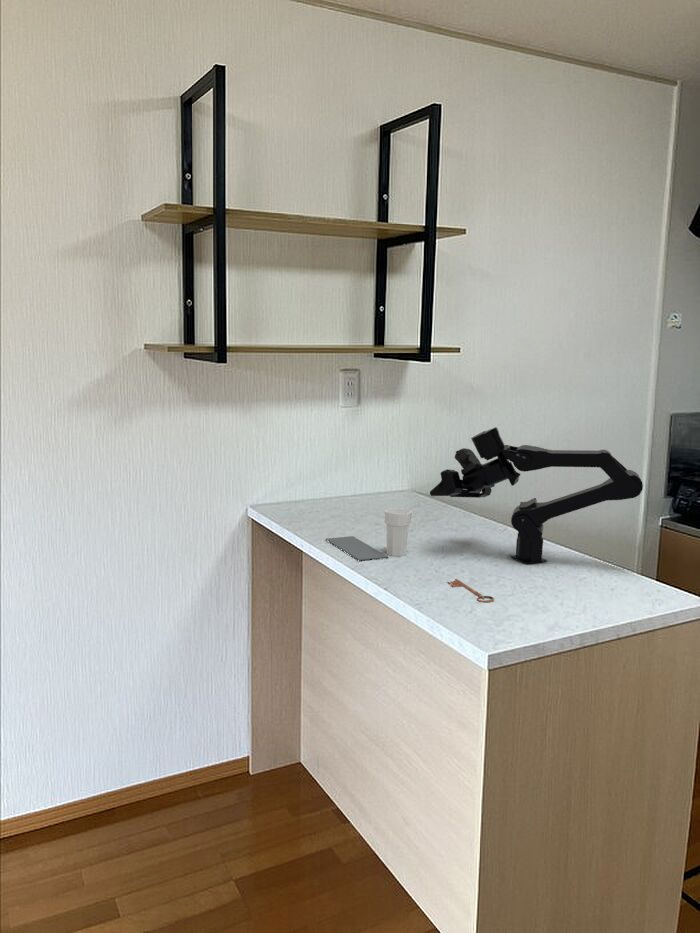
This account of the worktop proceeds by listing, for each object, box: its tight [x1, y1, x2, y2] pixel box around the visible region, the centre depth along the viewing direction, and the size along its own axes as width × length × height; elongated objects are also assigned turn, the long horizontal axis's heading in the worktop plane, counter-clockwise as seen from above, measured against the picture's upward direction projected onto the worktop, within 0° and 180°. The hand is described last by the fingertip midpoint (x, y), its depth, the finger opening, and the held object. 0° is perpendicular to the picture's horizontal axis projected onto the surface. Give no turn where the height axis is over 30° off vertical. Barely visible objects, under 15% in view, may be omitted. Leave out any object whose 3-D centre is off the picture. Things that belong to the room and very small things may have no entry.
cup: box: [384, 507, 413, 557], centre depth 208 cm, size 7×7×11 cm
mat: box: [325, 535, 389, 562], centre depth 212 cm, size 20×8×1 cm, turn 26°
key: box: [446, 578, 495, 604], centre depth 182 cm, size 6×1×15 cm
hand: (440, 494), depth 216 cm, fingers open, 9 cm apart
